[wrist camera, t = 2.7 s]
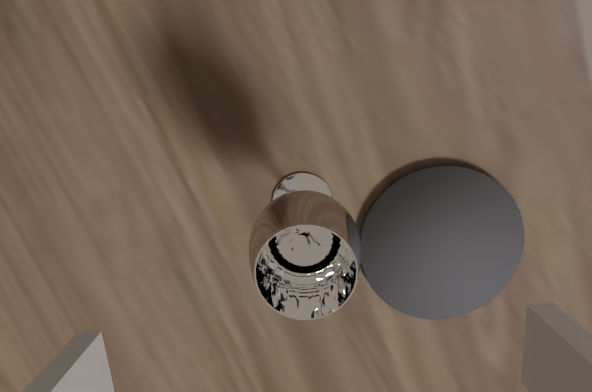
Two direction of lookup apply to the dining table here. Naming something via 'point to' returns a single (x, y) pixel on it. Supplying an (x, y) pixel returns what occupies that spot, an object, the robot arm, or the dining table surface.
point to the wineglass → (304, 250)
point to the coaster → (441, 242)
